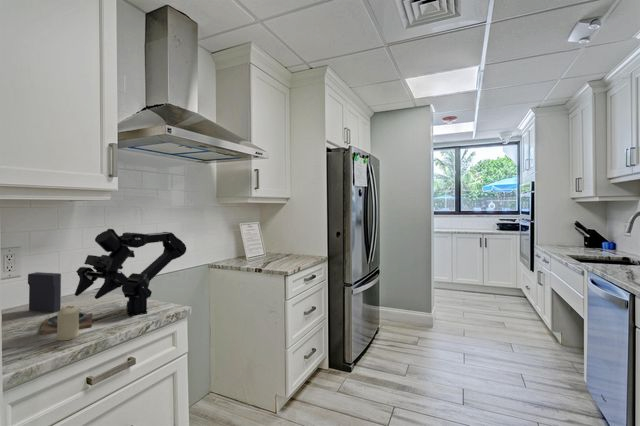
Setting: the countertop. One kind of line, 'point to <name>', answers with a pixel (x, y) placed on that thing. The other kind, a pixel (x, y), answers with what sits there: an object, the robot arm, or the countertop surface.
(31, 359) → the countertop surface
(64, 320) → the candle
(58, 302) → the navy upright box
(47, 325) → the dock
